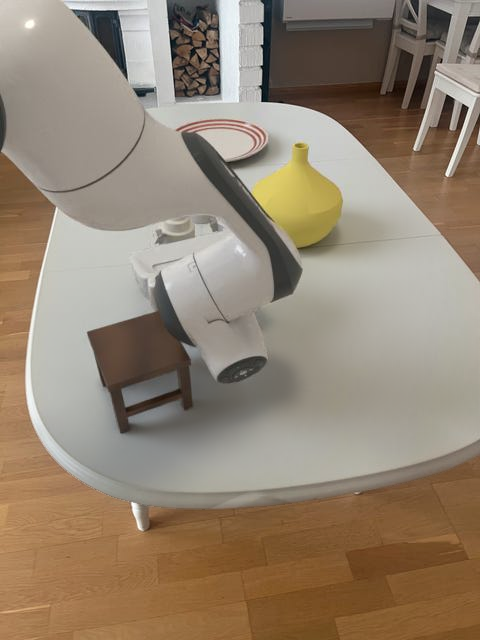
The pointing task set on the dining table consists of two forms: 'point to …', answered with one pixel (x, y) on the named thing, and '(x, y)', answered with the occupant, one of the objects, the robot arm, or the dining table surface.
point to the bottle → (177, 229)
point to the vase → (300, 199)
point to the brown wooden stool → (139, 362)
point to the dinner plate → (229, 136)
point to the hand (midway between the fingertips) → (185, 226)
